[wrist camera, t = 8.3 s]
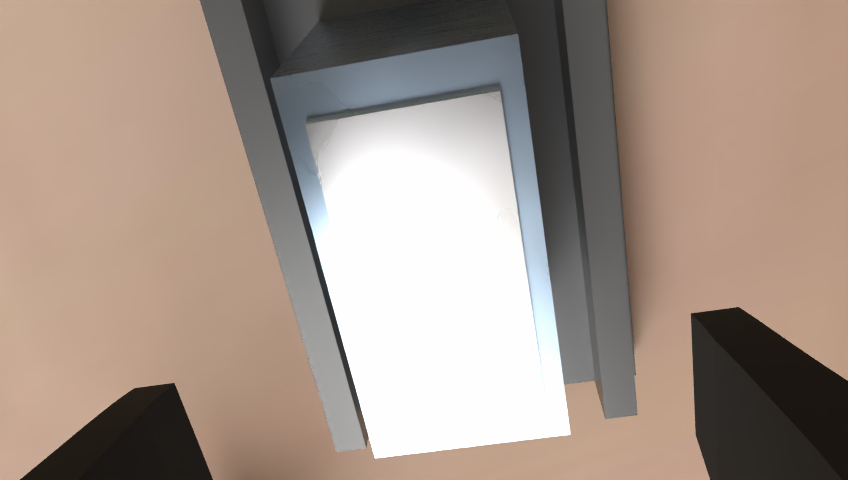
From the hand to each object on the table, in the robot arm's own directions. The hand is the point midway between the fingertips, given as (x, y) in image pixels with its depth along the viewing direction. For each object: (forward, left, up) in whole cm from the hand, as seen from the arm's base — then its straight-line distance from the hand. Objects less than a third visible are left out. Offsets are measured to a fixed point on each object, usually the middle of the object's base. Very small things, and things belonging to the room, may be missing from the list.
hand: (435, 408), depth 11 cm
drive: (0, 0, -9) cm, 9 cm away
